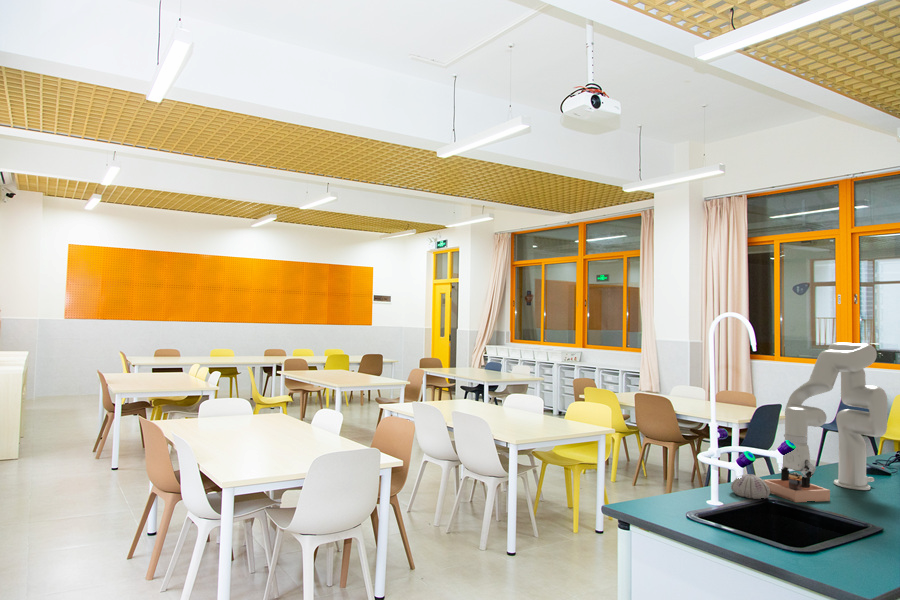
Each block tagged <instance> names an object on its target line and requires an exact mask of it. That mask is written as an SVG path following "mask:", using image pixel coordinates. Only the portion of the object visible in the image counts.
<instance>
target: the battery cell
mask: <svg viewBox="0 0 900 600" xmlns="http://www.w3.org/2000/svg"><path fill="white" fill-rule="evenodd" d="M802 477H803V475H802V473H801V474H800V473H798V472H797V471H796V472H789V489H792V490H795V491H799V490H802Z"/></svg>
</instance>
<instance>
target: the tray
mask: <svg viewBox="0 0 900 600" xmlns="http://www.w3.org/2000/svg"><path fill="white" fill-rule="evenodd" d="M762 480H763V481H764V482H765V483H766V484H767V485H768V487H769V489H770V494H771V495H775V496H777V497H780V498H782V499H786V500H788V501H790V502H792V503H808V502H807V501H815V502H831V489H829V488H828V489H827V488H824V487H823V486H819V485H816V484H813V483H810V487H809V488H803V487H802V490H799V491H795V490H792V489H789V480H788V481H782V480H781V478H775V479H773V478H771V479H762Z"/></svg>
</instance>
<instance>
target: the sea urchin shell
mask: <svg viewBox="0 0 900 600" xmlns="http://www.w3.org/2000/svg"><path fill="white" fill-rule="evenodd" d="M741 476H742V478H740V479H739V478H738V479H737V477H736V478H735V479H734V480H733V482H731V484H730V487H731V488H730V490H731V491H732V492H733V493H734V494H735V495H737V496H738V497H742V498H746V499H753V500H762V499H761V498H764V499H767V498H768V497H770V494H771V493H770V489H769V487H768V485H767V484H766V483H765V482H764V481H763V480H764V479H763V478H761V477H760V476H758V475H757V474H751V473H747V474H742V475H741Z"/></svg>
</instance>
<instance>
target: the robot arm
mask: <svg viewBox="0 0 900 600" xmlns="http://www.w3.org/2000/svg"><path fill="white" fill-rule="evenodd" d="M877 353H878V352H877V350H876V348H875V346H873V345H871V344H868V343H855V342H854V343H852V342H833V343H831V344H829V346H828V347H827V350H822V351H820V353H819V354H818V356H817V358H816V361H815V364H814V366H813V369H812V372H811V374H810V377H809V379H808V381H806V382H805V383H803V384H801V385H800V386H799V387H797V388H796V389H795V390H793V392H792V393H791V394H790V396H789V397H788V400H787V403H786V405H785V410H784V417H785V418H784V420H785V421H784V434H783V437H784V441H785V440H789V441H790V442H791V443H793V444H794V445H795V446H796V448H795V449H794V450H793V451H791V452H789V453H787V454H785V455H784V456H783V467H782V469H781V470H780V472H781V473H780V474H781V475H780V476H781V478H780V479H781V480H782V481H788V480H789V473H790V470H792V471H796V472H800V473H801V475H802V487H803V488H809V487H810V484H811V478H812V477H813V476H814V474H815V472H816V470H817V467H816V466H815V465H813V464H812V463H811V455H810V448H809V445H808V427H813V428H819V427H821V426H824V424H825V423H826V422H827V417H828V416H827V413H826V412H825V410H823V409H821V408H819V407H814V406H809V405H808V406H807V405H803V403H805V402H806V400H807V399H810V398H811V397H814V396H818V395H821V394H822V395H823V394H825V393H828V392H830V391H832V390H833V389H834V385H835V383H836V380H837V378H838V376H839V373H840V400H841V402H842V404H844V405H846V406H849V407H855V408H862V409H867V410H868V411H864V410H857V409H849V408H847V409H841V410H840V411H838V412H837V414H836V417H835V418H836V419H835V421H836V426H837V430H838V431H837V433H838V475H837V476H838V477H837V478H838V479H834V480H833V484H834V485H836V486H838V487H842V488H845V489H850V490H855V491H856V490H858V491H869V490H871V485H870V484H868V483H871V482H875V478H874V477H872V476H867V444H866V441H865V439H864V437H863V435H864V436H869V437H875V438H881V437H883V436H885V434H886V433H887V429H888V396H887V393H886V391H885V390H884V389H883V388H882V387H880V386H876V385H870V384H869V385H867V383H866V371H865V368H867V367H869V366H871V365H872V364H874V363H875V361H876V359H877V358H878V357H877V356H878V354H877ZM789 469H790V470H789Z"/></svg>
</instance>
